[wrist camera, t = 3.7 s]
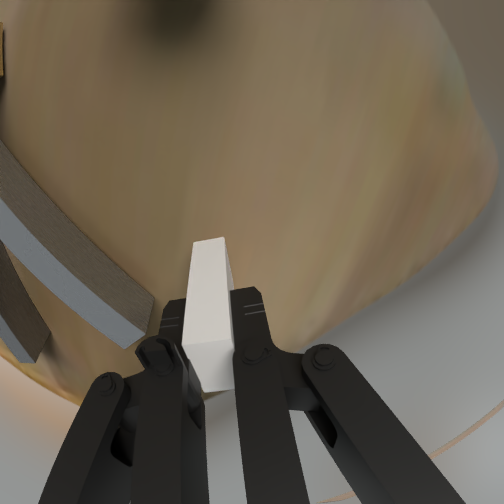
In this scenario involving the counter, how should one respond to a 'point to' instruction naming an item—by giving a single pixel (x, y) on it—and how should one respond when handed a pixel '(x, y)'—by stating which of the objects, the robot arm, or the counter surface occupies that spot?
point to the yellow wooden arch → (0, 58)
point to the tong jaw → (68, 258)
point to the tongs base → (19, 315)
